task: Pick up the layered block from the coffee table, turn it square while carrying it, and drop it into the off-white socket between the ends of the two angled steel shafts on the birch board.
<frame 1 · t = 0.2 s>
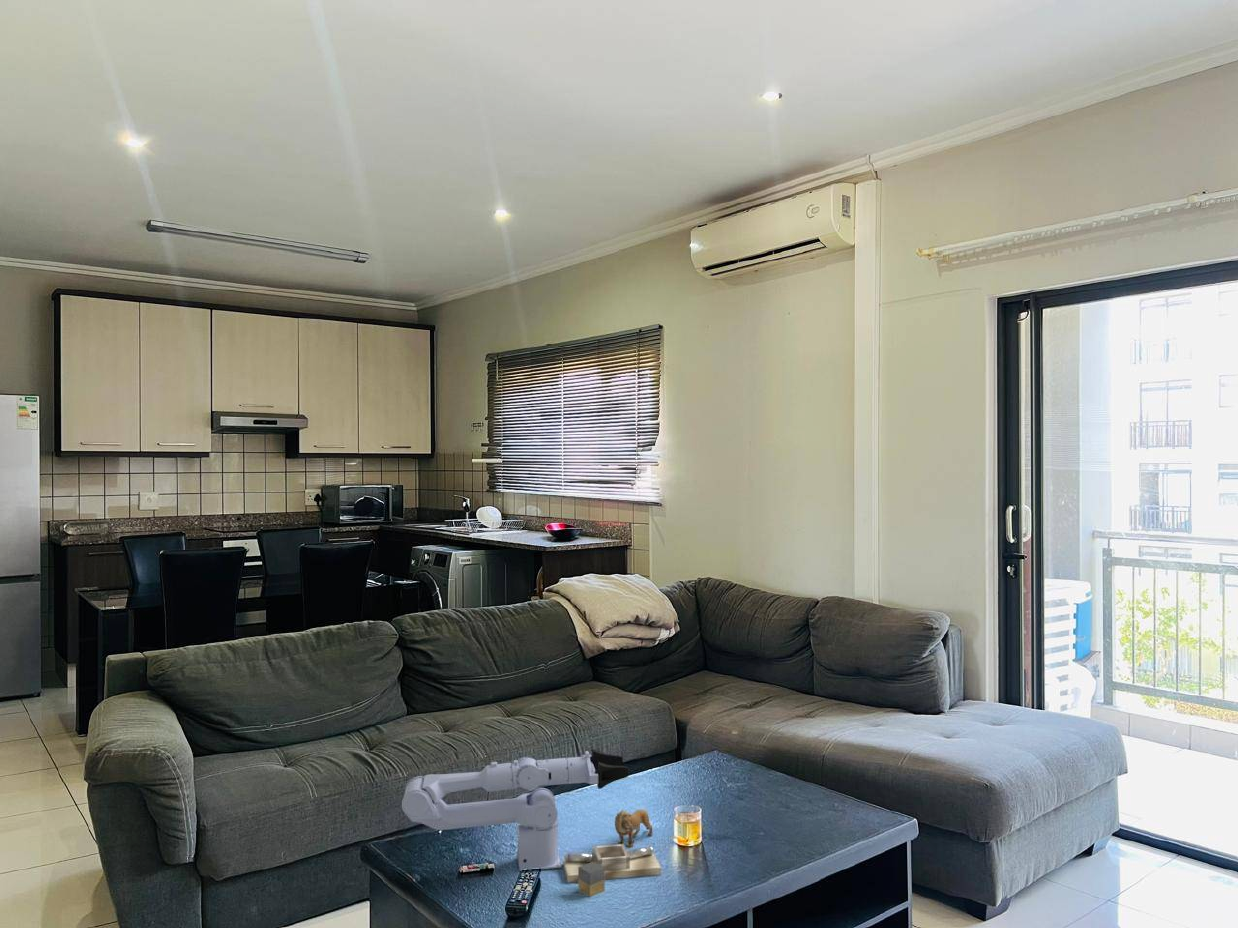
hand: (625, 766, 206), 21 cm above the table, tool horizontal, fingers open, 7 cm apart
shaft right: (640, 862, 202), resting on shaft board
shaft board: (611, 869, 199), on the table
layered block: (591, 890, 189), on the table
lion figurine: (634, 842, 214), on the table
shaft left: (578, 868, 199), resting on shaft board
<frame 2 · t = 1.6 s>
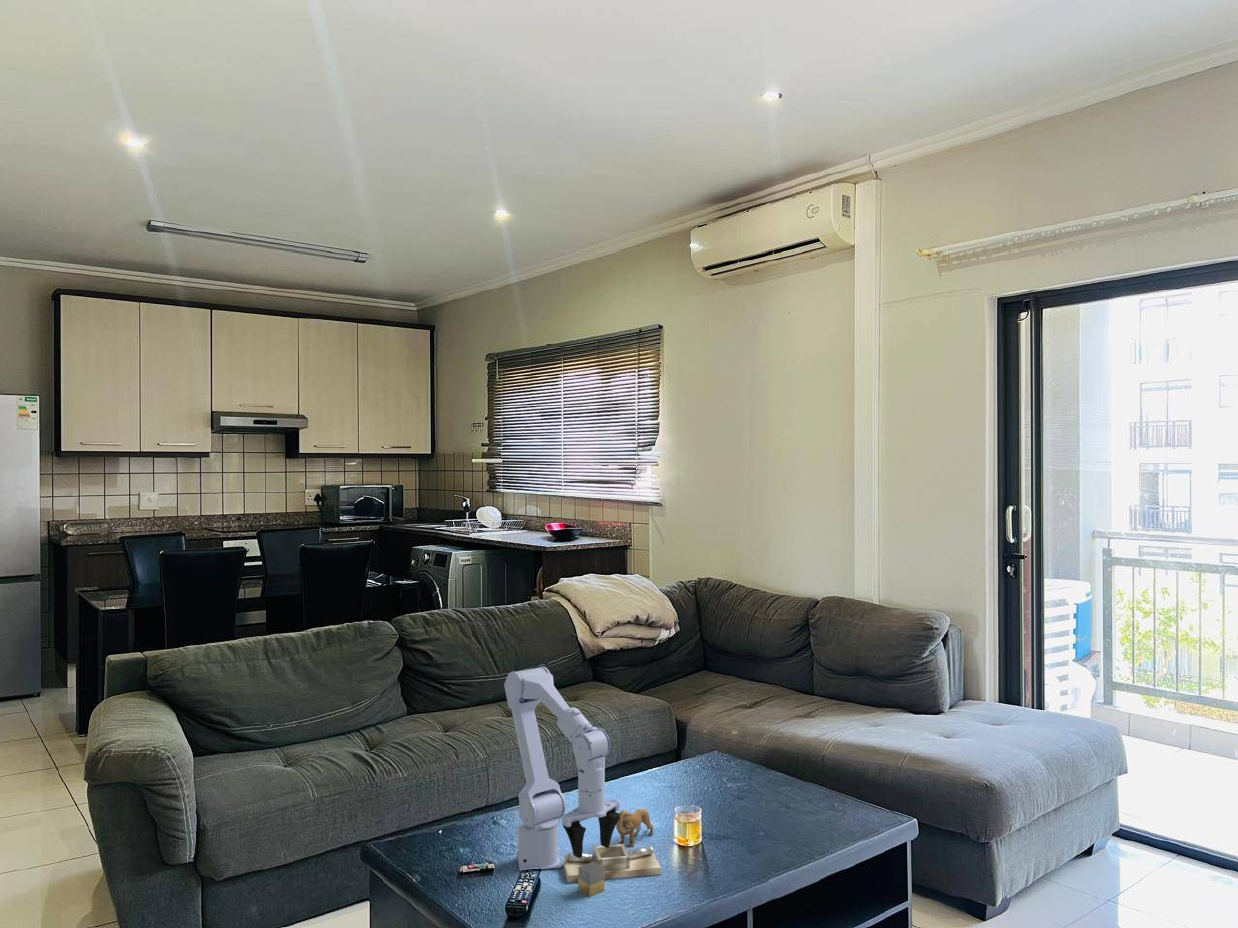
hand: (591, 850, 189), 8 cm above the table, tool pointing down, fingers open, 7 cm apart
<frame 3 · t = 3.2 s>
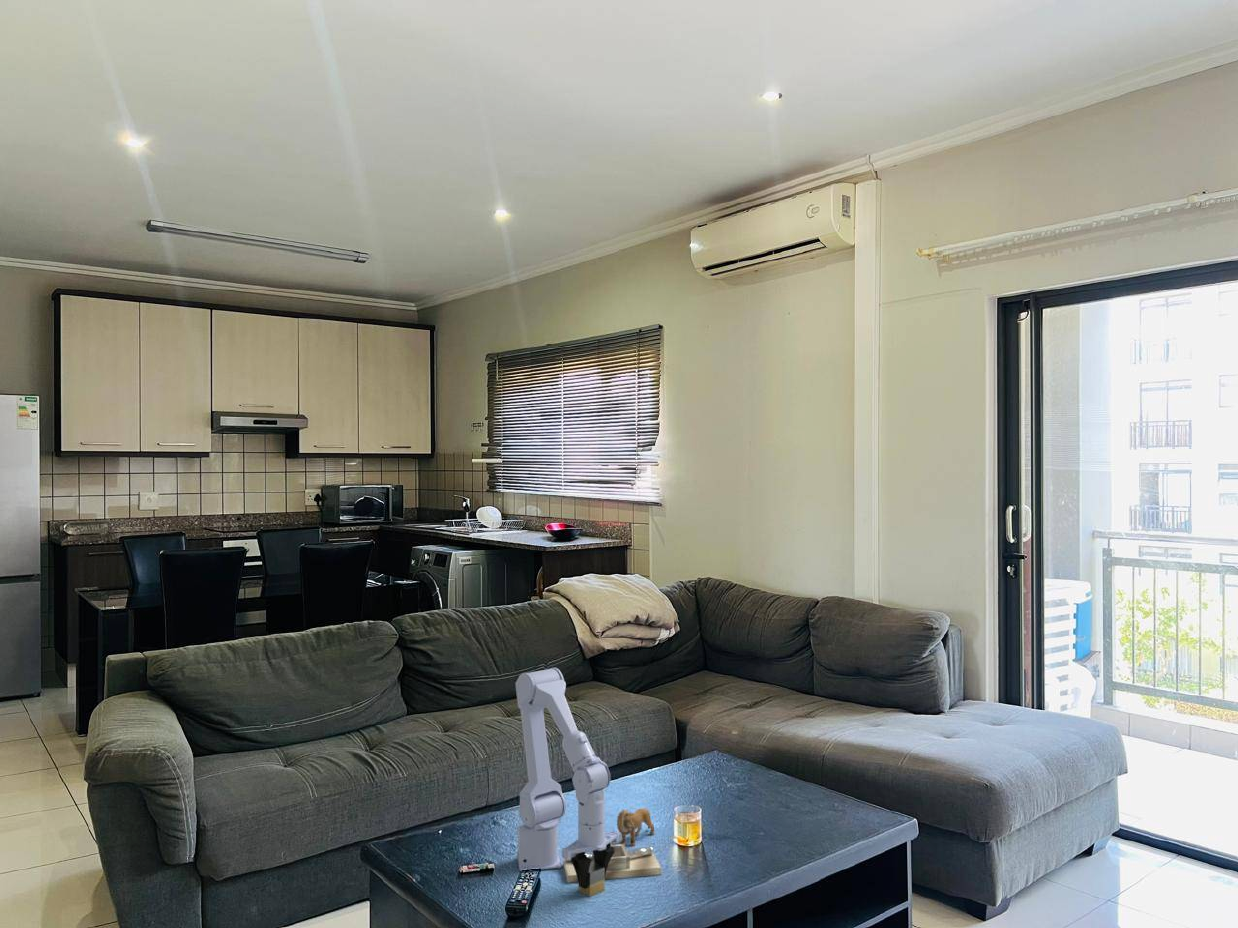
hand: (591, 883, 189), 1 cm above the table, tool pointing down, fingers closed on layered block, 4 cm apart
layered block: (591, 890, 189), on the table, touching gripper
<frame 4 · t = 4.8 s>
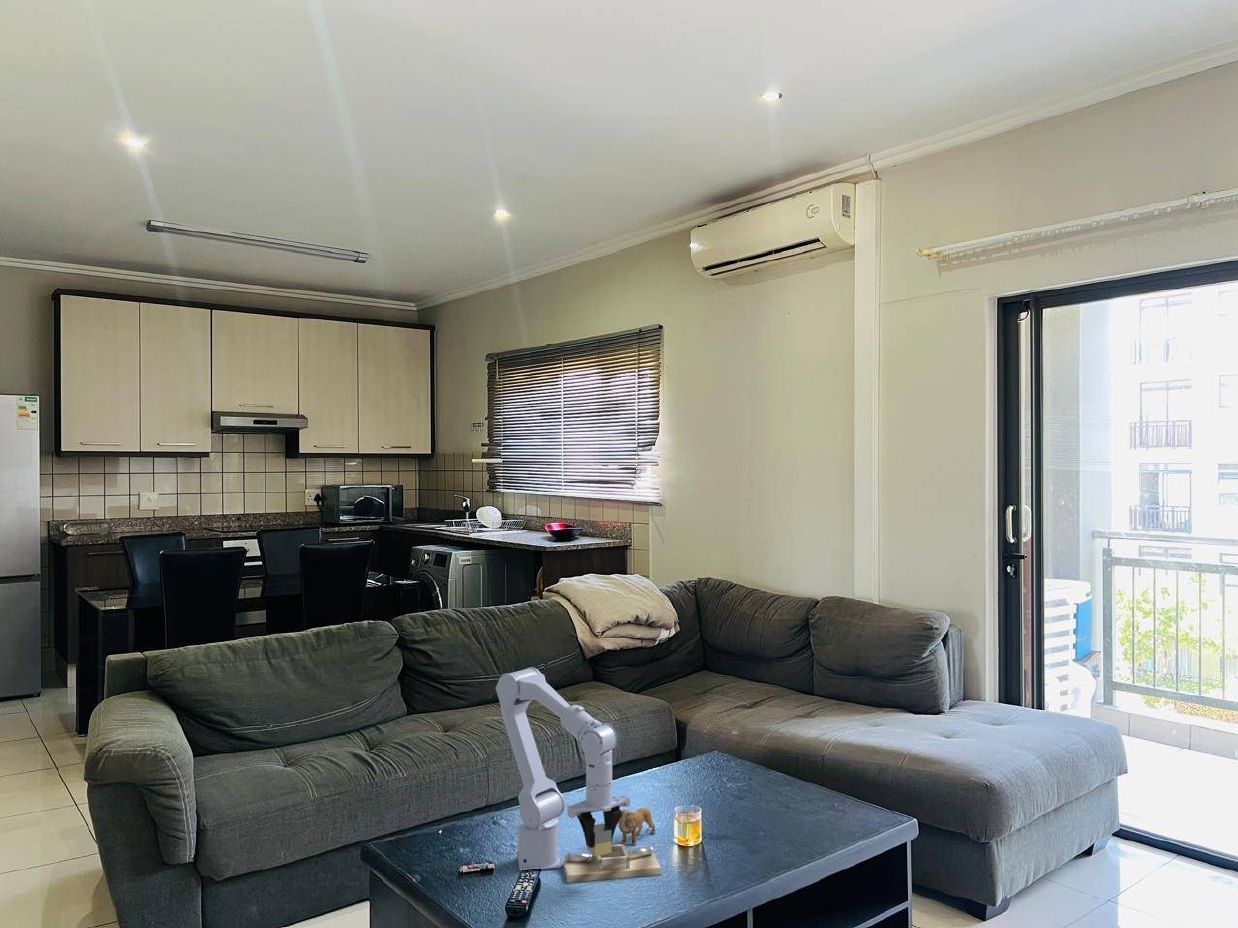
hand: (599, 843, 193), 8 cm above the table, tool pointing down, fingers closed on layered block, 4 cm apart
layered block: (599, 850, 193), point 7 cm above the table, touching gripper
when the fingers open (5 cm above the table, at t = 6.6 s): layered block drops 2 cm, resting on shaft board.
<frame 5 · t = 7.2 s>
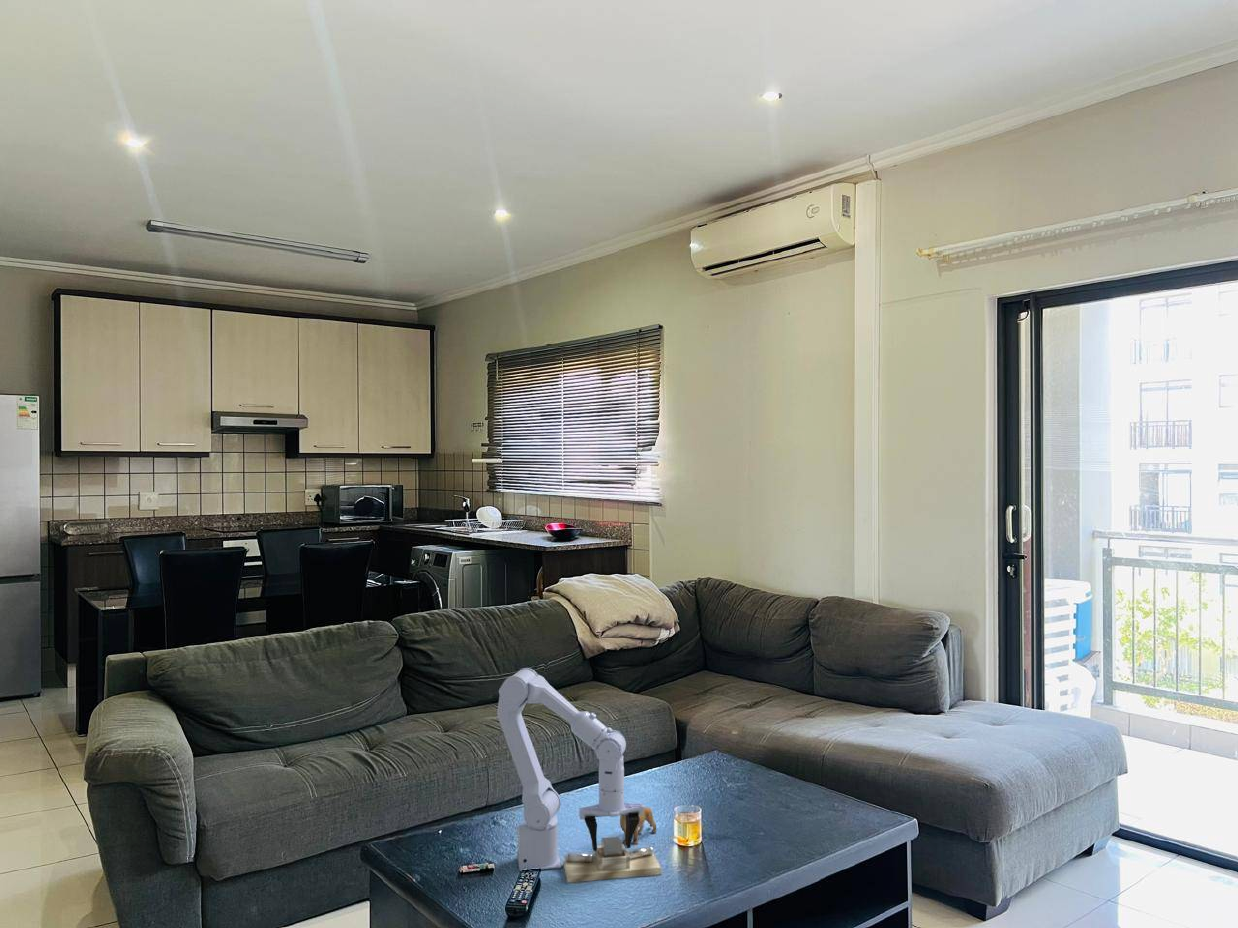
hand: (611, 847, 199), 5 cm above the table, tool pointing down, fingers open, 7 cm apart
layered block: (611, 862, 199), point 1 cm above the table, touching shaft board
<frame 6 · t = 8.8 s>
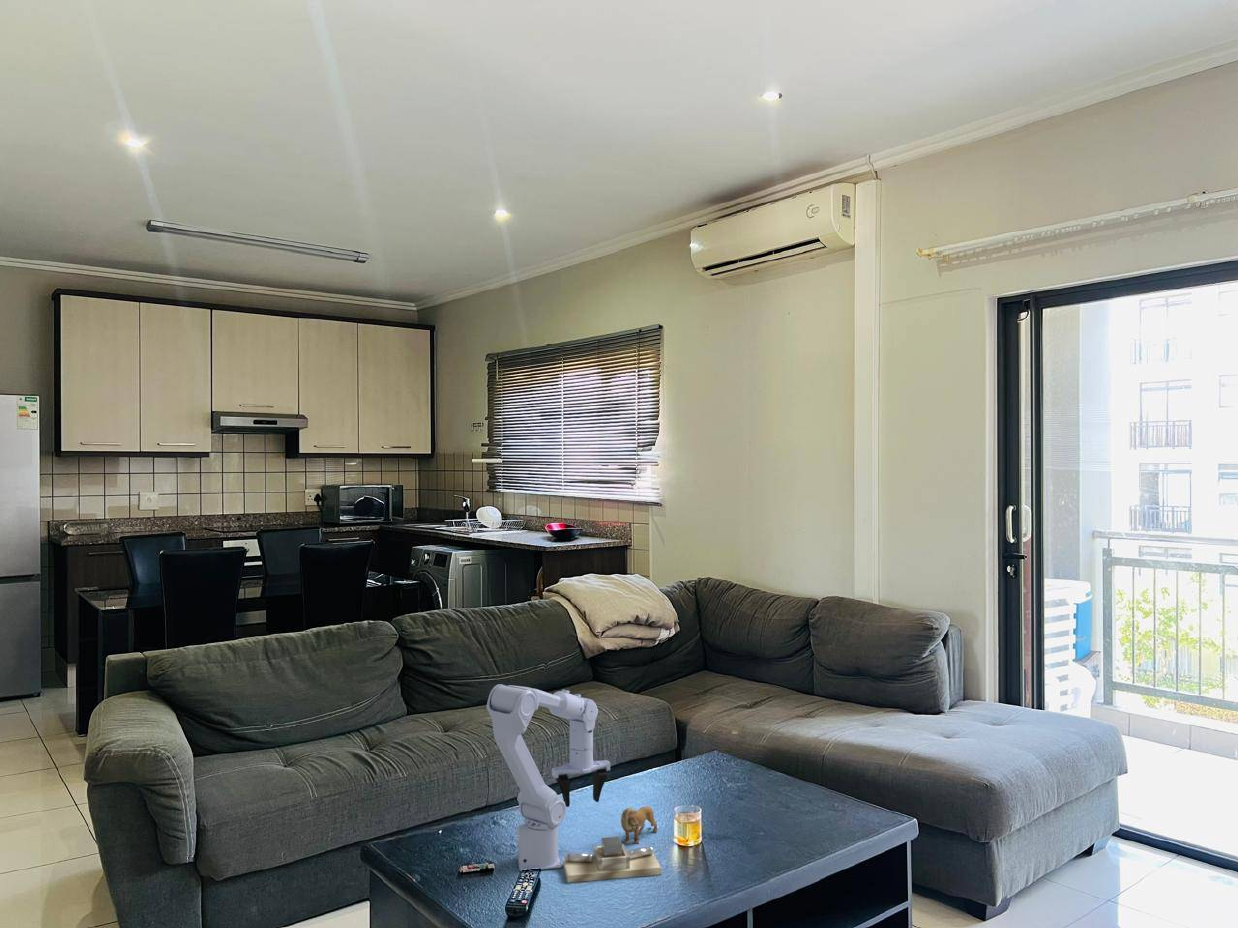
hand: (581, 802, 214), 9 cm above the table, tool pointing down, fingers open, 7 cm apart
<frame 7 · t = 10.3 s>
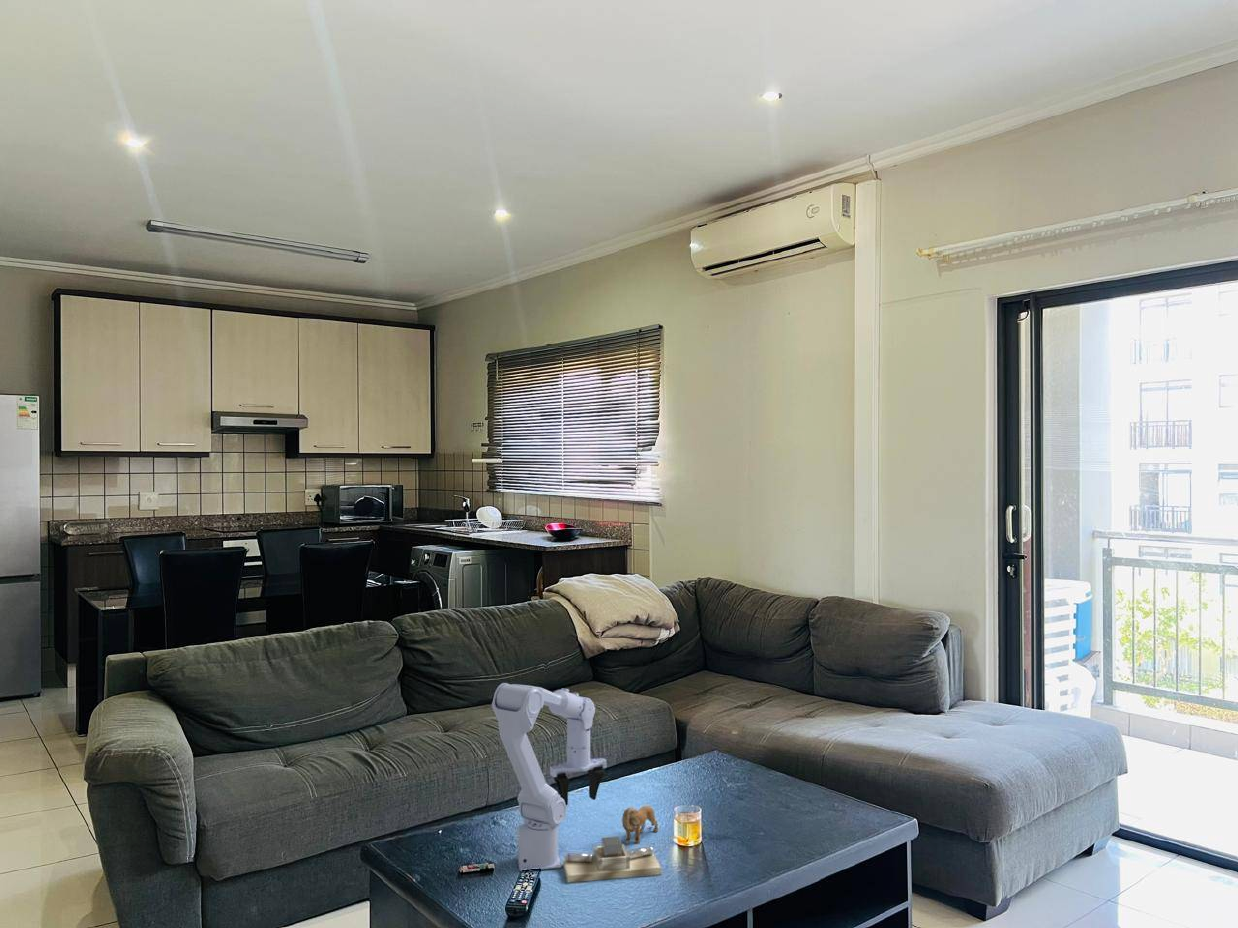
hand: (578, 800, 215), 9 cm above the table, tool pointing down, fingers open, 7 cm apart
at the end: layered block 0.1 cm off-centre on the shaft board, point 1.5 cm above the shaft board's base; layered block tilted 0°; the gripper is holding nothing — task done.
